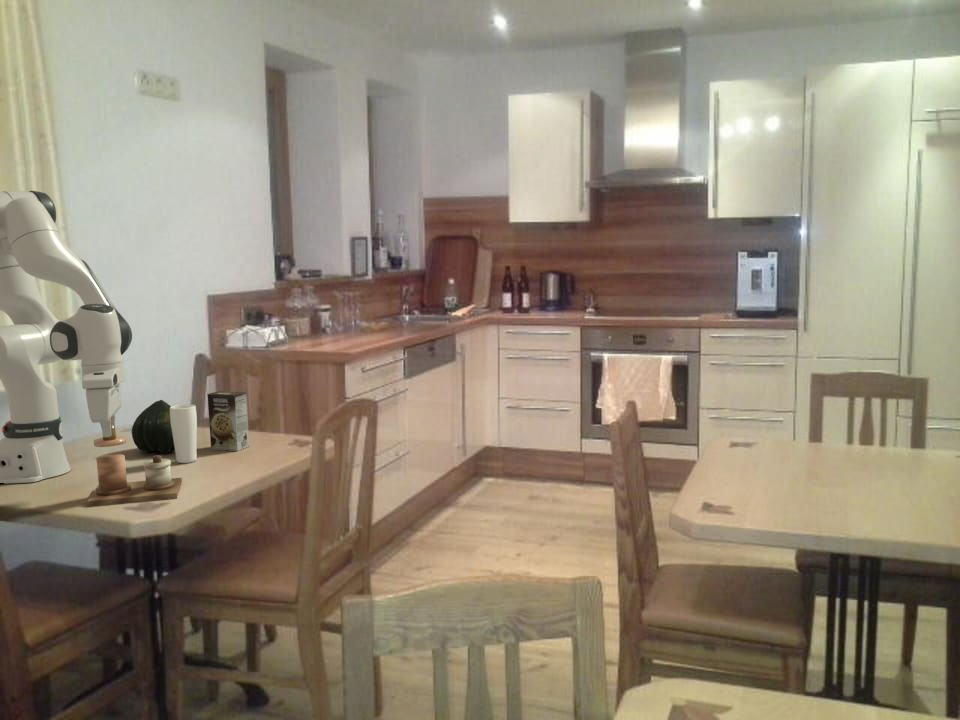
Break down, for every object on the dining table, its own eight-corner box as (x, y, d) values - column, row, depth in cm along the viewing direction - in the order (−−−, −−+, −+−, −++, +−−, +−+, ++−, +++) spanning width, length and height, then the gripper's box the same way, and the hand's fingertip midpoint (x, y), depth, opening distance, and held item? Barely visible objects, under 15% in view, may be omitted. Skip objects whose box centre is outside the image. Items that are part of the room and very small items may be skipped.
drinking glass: (204, 458, 235) (200, 404, 233) (193, 464, 228) (189, 408, 226) (180, 458, 236) (176, 404, 234) (168, 464, 229) (164, 409, 227)
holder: (87, 506, 193) (83, 466, 192) (98, 489, 206) (95, 452, 205) (177, 498, 198) (174, 458, 196) (182, 482, 211) (179, 445, 210)
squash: (144, 441, 232) (172, 395, 239) (113, 438, 241) (140, 392, 248) (181, 467, 242) (207, 421, 249) (149, 462, 251) (175, 418, 257)
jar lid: (91, 448, 195) (89, 429, 194) (96, 441, 201) (95, 423, 201) (123, 445, 197) (121, 426, 196) (127, 439, 203) (126, 420, 202)
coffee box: (209, 450, 245) (206, 394, 242) (223, 444, 251) (219, 390, 249) (237, 451, 242) (233, 394, 240) (250, 446, 248) (247, 391, 246)
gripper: (96, 370, 206) (102, 427, 208) (79, 382, 186) (86, 445, 188) (125, 368, 208) (130, 425, 209) (111, 380, 188) (117, 442, 190)
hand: (109, 434), depth 199 cm, fingers closed on jar lid, 3 cm apart
